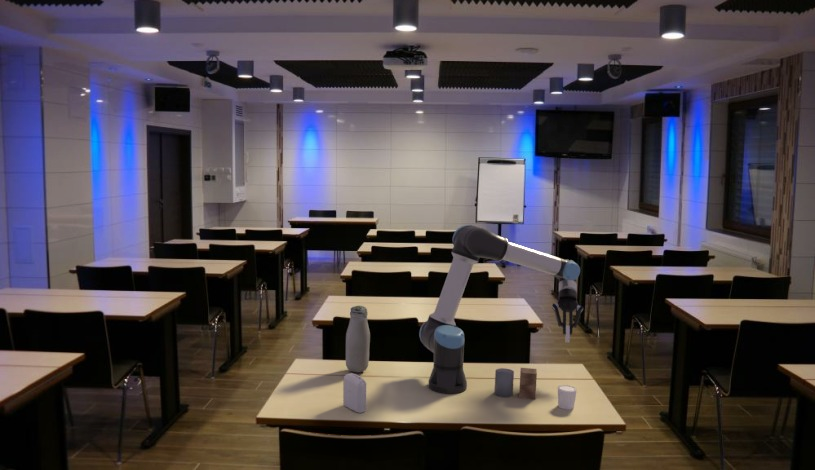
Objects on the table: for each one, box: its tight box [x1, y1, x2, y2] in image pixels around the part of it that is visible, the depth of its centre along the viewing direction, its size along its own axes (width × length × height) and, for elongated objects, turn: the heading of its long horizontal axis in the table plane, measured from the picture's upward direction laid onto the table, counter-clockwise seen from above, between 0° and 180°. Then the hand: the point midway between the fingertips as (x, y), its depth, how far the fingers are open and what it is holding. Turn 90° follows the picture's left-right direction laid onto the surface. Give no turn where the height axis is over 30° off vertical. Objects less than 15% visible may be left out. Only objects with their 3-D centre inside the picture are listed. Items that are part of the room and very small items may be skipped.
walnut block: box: [518, 367, 538, 400], centre depth 245 cm, size 6×6×10 cm
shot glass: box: [557, 384, 578, 410], centre depth 235 cm, size 7×7×7 cm
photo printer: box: [342, 372, 367, 414], centre depth 228 cm, size 10×4×12 cm, turn 39°
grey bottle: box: [345, 305, 371, 373], centre depth 267 cm, size 10×10×28 cm
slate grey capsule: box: [494, 367, 515, 398], centre depth 247 cm, size 7×7×9 cm
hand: (567, 340), depth 259 cm, fingers closed
